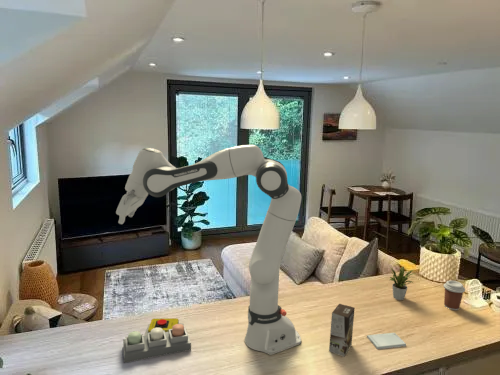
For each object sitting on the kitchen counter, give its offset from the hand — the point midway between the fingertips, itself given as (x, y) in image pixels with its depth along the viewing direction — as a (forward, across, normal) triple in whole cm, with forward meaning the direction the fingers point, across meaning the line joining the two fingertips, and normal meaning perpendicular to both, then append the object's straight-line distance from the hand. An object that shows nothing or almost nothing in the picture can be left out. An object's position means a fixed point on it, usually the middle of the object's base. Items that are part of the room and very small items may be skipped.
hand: (125, 219), depth 142 cm
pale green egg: (+37, -14, -23) cm, 45 cm away
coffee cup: (-12, +32, -152) cm, 156 cm away
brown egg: (+31, -8, -37) cm, 49 cm away
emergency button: (+39, +1, -31) cm, 50 cm away
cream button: (+34, -11, -30) cm, 46 cm away
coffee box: (+11, -5, -96) cm, 97 cm away
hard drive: (+4, +1, -114) cm, 114 cm away
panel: (+38, -11, -31) cm, 50 cm away
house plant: (-3, +38, -132) cm, 137 cm away
